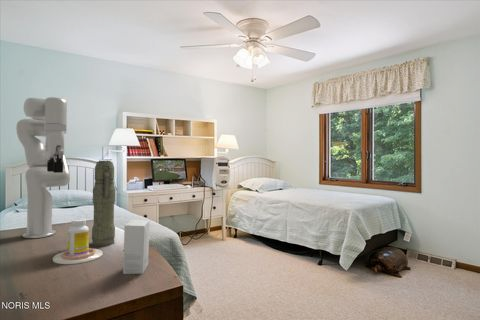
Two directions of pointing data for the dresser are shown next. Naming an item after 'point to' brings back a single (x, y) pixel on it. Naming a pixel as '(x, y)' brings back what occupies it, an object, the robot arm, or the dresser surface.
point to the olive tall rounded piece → (103, 204)
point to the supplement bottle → (78, 238)
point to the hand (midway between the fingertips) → (54, 172)
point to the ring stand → (77, 257)
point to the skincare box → (136, 247)
